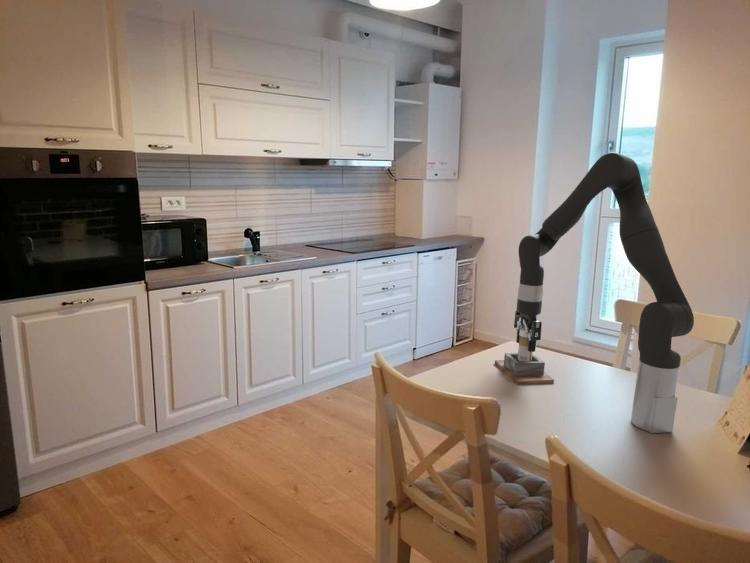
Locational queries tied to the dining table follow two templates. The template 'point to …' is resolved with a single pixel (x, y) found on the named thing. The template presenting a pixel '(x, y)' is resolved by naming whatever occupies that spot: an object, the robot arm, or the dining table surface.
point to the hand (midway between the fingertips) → (525, 347)
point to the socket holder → (524, 370)
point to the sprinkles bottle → (524, 347)
